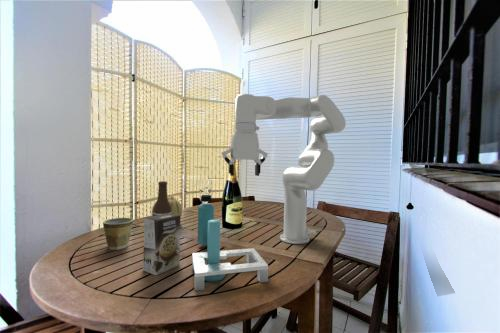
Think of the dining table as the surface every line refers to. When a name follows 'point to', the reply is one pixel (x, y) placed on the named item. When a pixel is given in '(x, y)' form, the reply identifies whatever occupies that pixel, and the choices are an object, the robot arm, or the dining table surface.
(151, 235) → the food box
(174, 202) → the cantaloupe
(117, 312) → the dining table surface
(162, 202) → the beer bottle
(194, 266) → the keyhole plate
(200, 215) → the beverage bottle
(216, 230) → the flanged peg
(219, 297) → the dining table surface
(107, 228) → the ceramic cup
